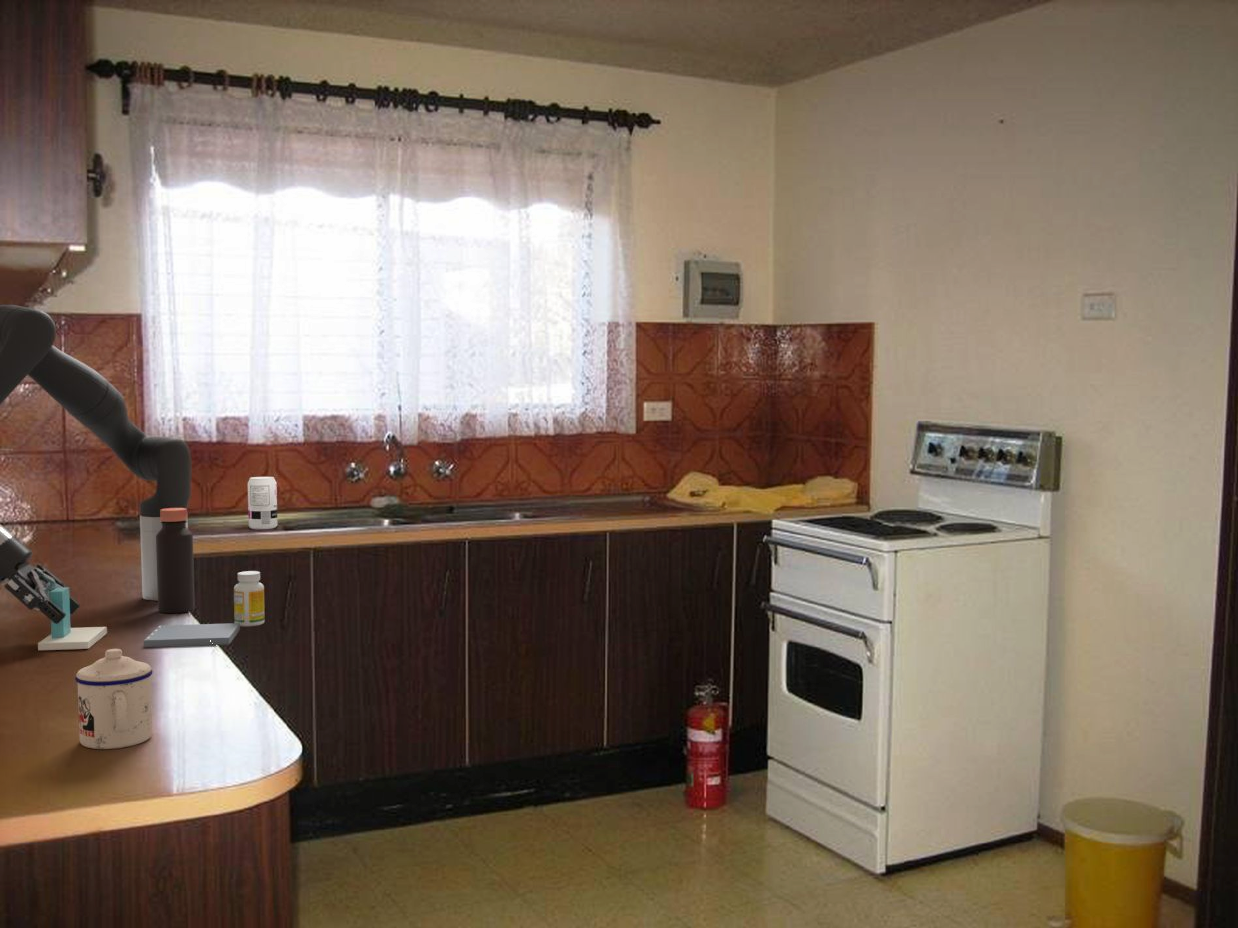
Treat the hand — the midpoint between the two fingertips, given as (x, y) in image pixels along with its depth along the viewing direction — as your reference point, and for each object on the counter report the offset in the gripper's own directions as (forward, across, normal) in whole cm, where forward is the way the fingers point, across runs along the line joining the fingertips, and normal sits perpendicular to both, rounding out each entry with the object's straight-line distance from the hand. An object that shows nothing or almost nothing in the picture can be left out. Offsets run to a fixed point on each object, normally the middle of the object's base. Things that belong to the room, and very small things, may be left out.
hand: (69, 614), depth 211 cm
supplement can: (+12, +151, -5) cm, 152 cm away
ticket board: (+18, 0, -11) cm, 21 cm away
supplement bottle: (+24, +11, -17) cm, 31 cm away
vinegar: (+12, +26, -5) cm, 29 cm away
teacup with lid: (+20, -61, -12) cm, 65 cm away
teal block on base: (+4, 0, +3) cm, 5 cm away
